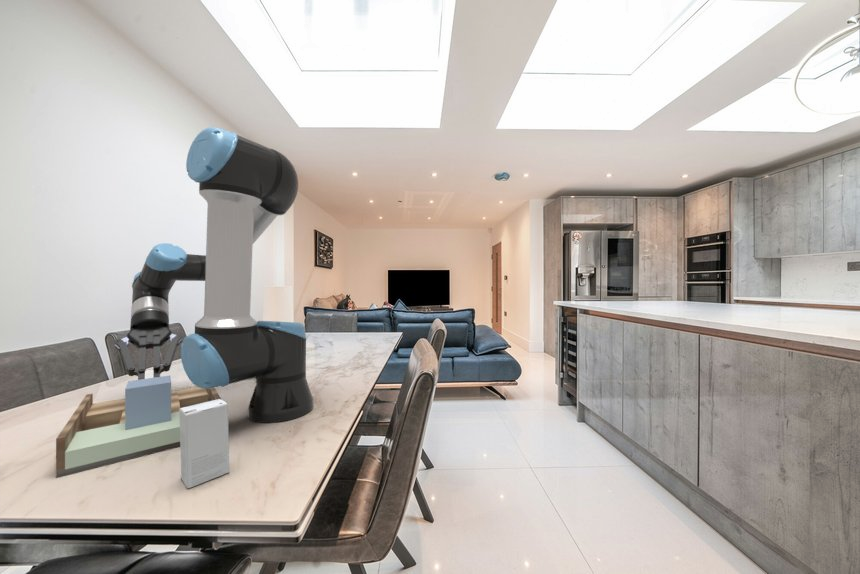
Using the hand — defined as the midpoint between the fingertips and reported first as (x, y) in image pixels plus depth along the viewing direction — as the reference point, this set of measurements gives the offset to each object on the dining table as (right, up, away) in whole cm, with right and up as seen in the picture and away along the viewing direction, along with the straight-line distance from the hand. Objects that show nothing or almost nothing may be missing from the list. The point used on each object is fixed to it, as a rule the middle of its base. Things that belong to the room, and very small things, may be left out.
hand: (148, 398), depth 72 cm
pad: (+6, -7, -6) cm, 11 cm away
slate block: (+3, -3, -4) cm, 6 cm away
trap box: (-1, -7, +2) cm, 8 cm away
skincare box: (+25, -7, -18) cm, 31 cm away
